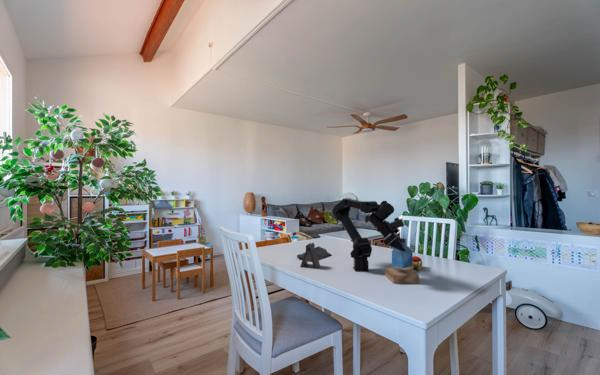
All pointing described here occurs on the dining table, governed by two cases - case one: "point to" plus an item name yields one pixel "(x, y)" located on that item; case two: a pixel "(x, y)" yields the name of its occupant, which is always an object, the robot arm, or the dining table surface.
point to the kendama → (416, 263)
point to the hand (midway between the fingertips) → (405, 250)
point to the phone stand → (311, 251)
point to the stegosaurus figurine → (320, 253)
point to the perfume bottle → (402, 256)
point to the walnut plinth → (401, 275)
